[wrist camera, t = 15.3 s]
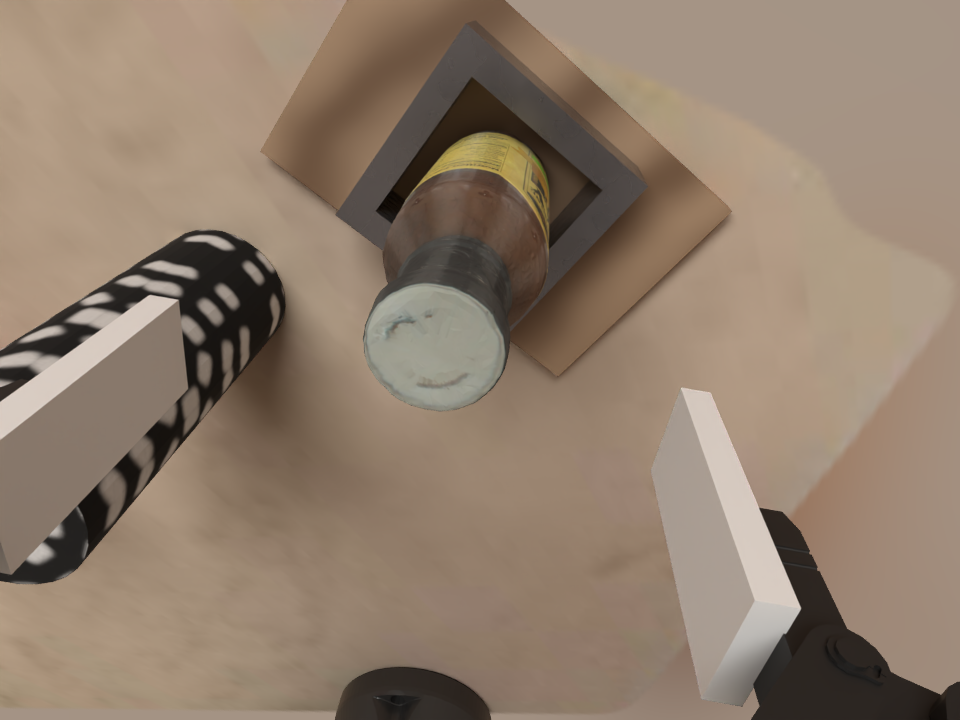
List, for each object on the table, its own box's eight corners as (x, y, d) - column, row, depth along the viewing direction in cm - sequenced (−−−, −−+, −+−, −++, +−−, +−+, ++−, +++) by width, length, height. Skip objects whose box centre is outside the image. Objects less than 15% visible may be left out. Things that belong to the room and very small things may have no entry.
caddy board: (727, 205, 35) (732, 211, 34) (557, 368, 41) (557, 376, 40) (405, -92, 29) (401, -94, 28) (267, 147, 36) (260, 151, 35)
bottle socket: (638, 167, 33) (648, 186, 30) (506, 309, 38) (502, 340, 35) (475, 20, 30) (465, 23, 27) (356, 193, 35) (335, 214, 32)
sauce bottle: (531, 251, 36) (507, 480, 19) (426, 221, 36) (305, 426, 19) (566, 139, 33) (577, 293, 16) (451, 105, 33) (333, 225, 15)
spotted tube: (133, 271, 40) (-178, 472, 23) (221, 203, 38) (-61, 376, 20) (223, 367, 44) (7, 607, 26) (311, 311, 41) (132, 541, 23)
